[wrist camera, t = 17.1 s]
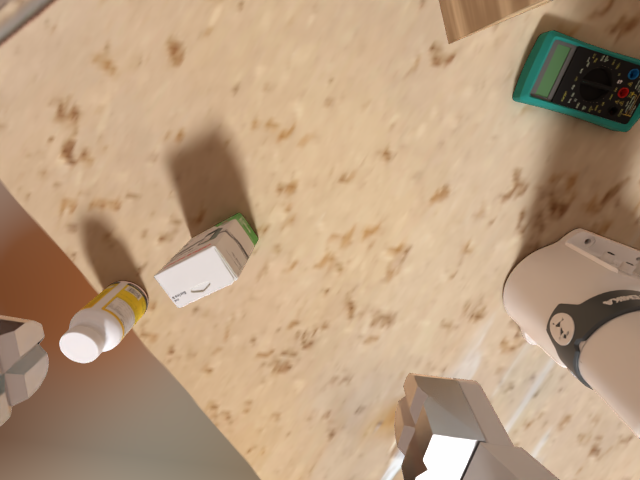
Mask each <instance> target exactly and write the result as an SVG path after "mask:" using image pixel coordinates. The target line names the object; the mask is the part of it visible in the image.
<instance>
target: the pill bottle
mask: <svg viewBox="0 0 640 480" xmlns="http://www.w3.org/2000/svg"><path fill="white" fill-rule="evenodd" d="M147 308H148V298H147V295H146V293H145V292H144V291H143V290H142V289H141V288H140V287H139V286H138V285H136V284H134V283H131V282H128V281H118V282H115V283H113V284H111V285H109V286H108V287H107V288H106V289H105V290H103V291H102V292H101V293H100V294H99V295H97V296H96V297H95V298H94V299H93V300H91V301H90V302H89V303H88V304H87V305H86V306H85V307H83V308H82V309H81V310H80V311H79V312H78V313H76V314H75V316H74V317H73V318H72V320H71V322H70V327H69V330H68V331H67V332H66V333H65V334H64V335H63V336H62V337H61V339H60V342H59V343H60V344H59V345H60V349H61V351H62V352H63V354H64V355H65V356H66V357H68V358H69V359H71V360H73V361H75V362H79V363H88V362H91V361H93V360H95V359H96V358H97V357H98V356H99V355H100V353H101V352H105V351H108V350H111V349H113V348H114V347H115V346H116V345H118V343H119V342H120V341H121V340H122V339H123V338H124V337H125V335H126V334H127V333H128V332H129V331H130V330H131V328H132V327H133V326H134V325H135V324H136V322H137V321H138V320H139V319H140V318H141V317H142V315H143V314H144V313H145V312H146V310H147Z"/></svg>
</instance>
